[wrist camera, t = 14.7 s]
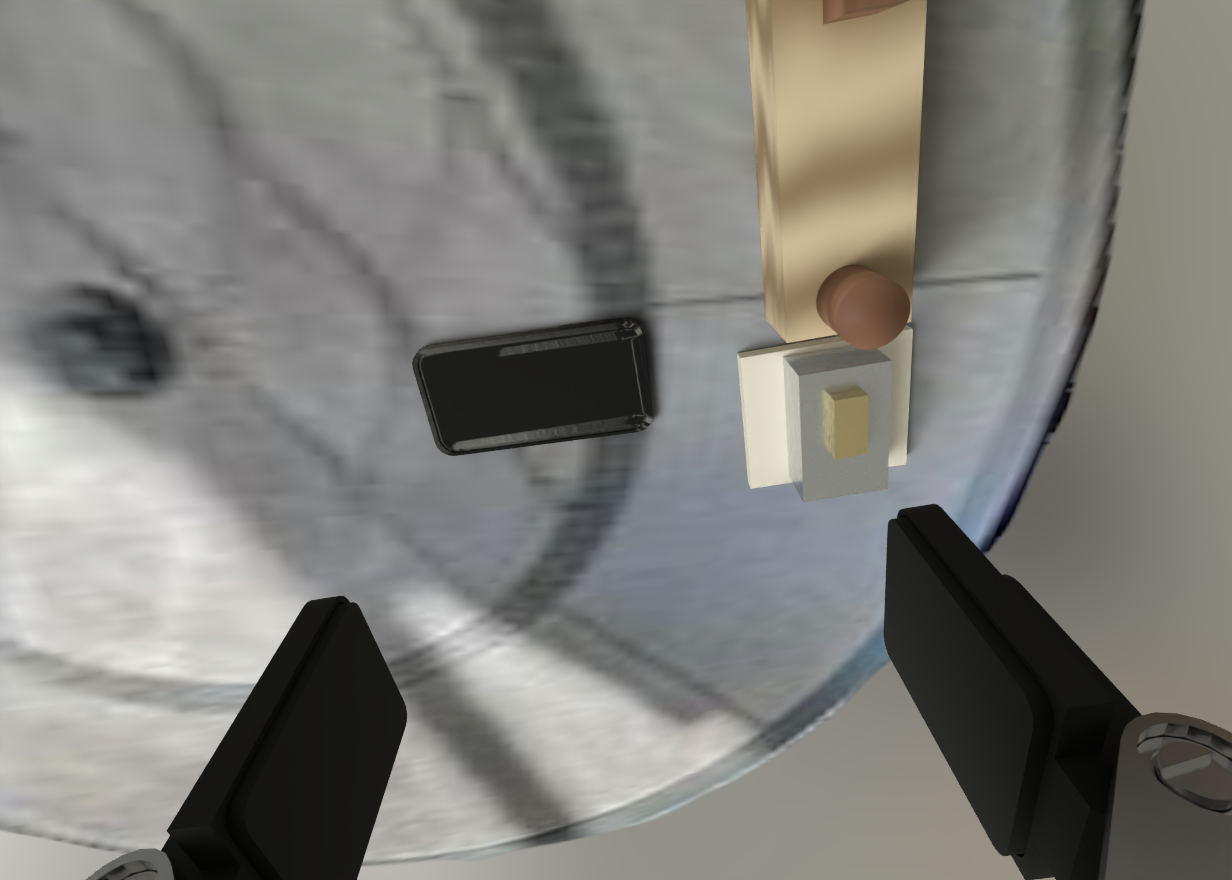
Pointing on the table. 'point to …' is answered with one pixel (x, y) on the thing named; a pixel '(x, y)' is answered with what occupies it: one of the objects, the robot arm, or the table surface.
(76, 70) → the table surface
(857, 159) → the body
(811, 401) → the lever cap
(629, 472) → the table surface
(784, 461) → the felt mat
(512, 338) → the phone
